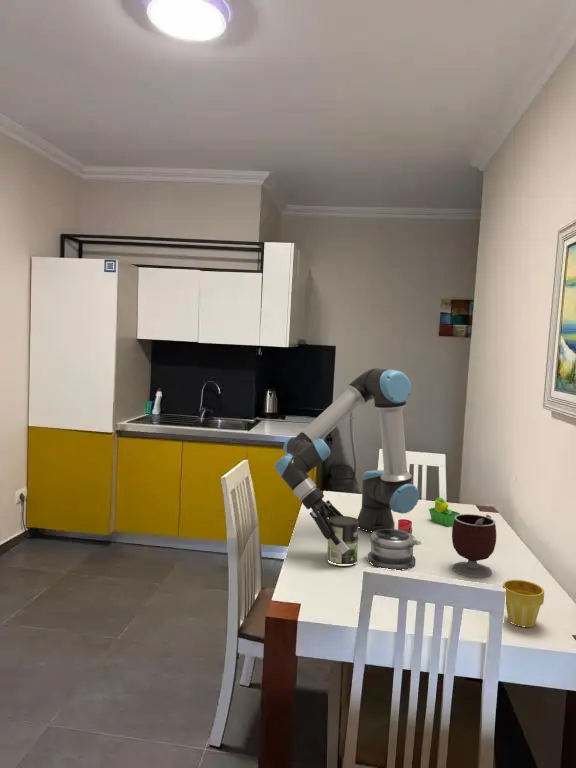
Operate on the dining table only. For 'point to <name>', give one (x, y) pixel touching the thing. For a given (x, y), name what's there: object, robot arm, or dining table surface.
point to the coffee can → (344, 539)
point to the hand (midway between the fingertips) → (351, 546)
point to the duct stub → (392, 549)
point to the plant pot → (523, 601)
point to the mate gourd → (473, 543)
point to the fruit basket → (442, 513)
